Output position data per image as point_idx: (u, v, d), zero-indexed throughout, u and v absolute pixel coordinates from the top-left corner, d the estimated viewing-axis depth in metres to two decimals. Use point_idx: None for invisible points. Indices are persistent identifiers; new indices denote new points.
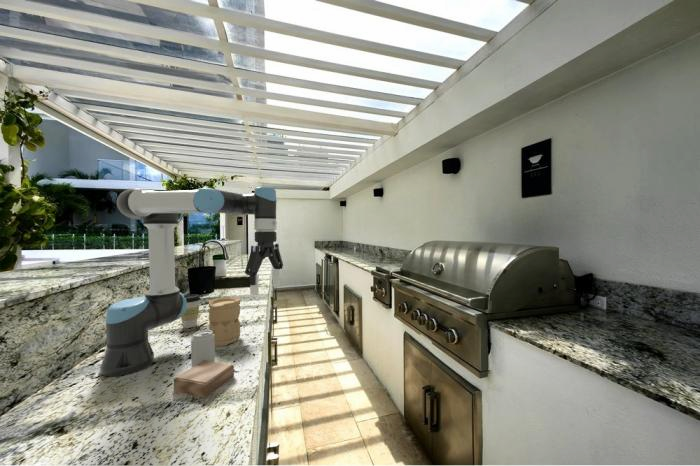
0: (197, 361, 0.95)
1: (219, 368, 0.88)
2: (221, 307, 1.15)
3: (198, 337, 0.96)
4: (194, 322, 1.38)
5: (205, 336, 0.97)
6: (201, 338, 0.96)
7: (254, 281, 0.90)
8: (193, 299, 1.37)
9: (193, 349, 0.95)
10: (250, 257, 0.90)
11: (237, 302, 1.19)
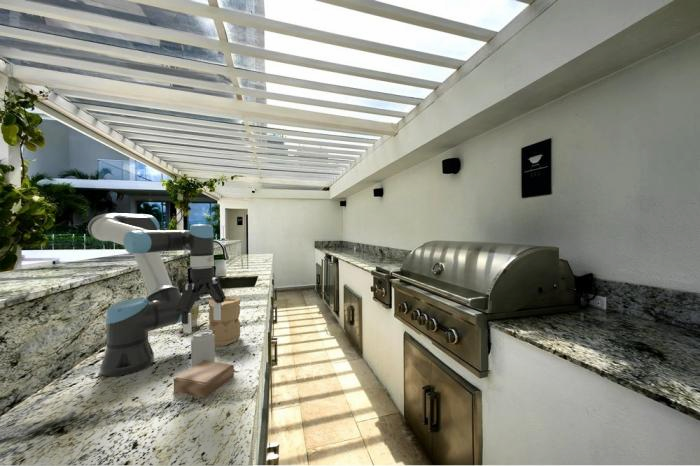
0: (197, 361, 0.95)
1: (219, 368, 0.88)
2: (221, 307, 1.15)
3: (198, 337, 0.96)
4: (194, 322, 1.38)
5: (205, 336, 0.97)
6: (201, 338, 0.96)
7: (186, 320, 0.91)
8: None
9: (193, 349, 0.95)
10: (182, 296, 0.91)
11: (237, 302, 1.19)
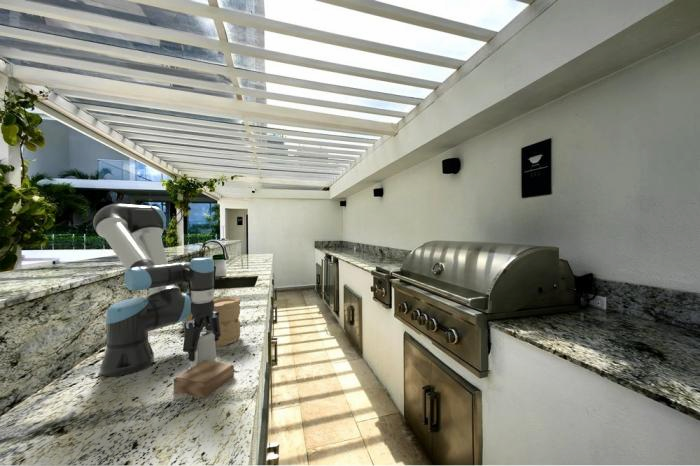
0: None
1: (219, 368, 0.88)
2: (221, 307, 1.15)
3: None
4: None
5: (205, 336, 0.97)
6: (201, 338, 0.96)
7: (193, 357, 0.94)
8: None
9: None
10: (185, 335, 0.92)
11: (237, 302, 1.19)
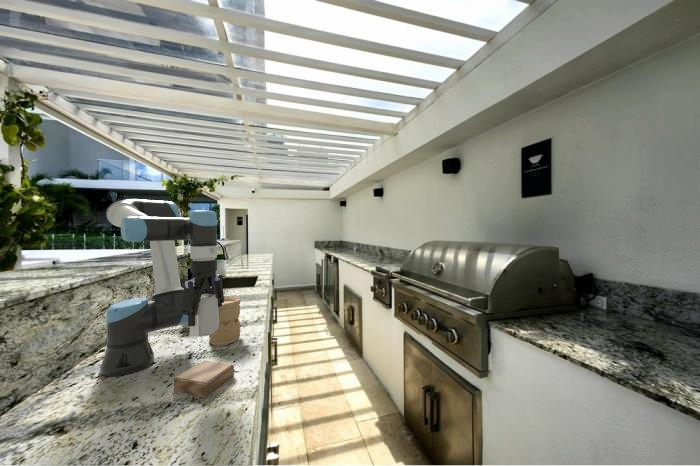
0: None
1: (219, 368, 0.88)
2: (221, 307, 1.15)
3: None
4: None
5: (207, 299, 0.85)
6: (203, 300, 0.84)
7: (193, 322, 0.82)
8: None
9: None
10: (184, 295, 0.80)
11: (237, 302, 1.19)
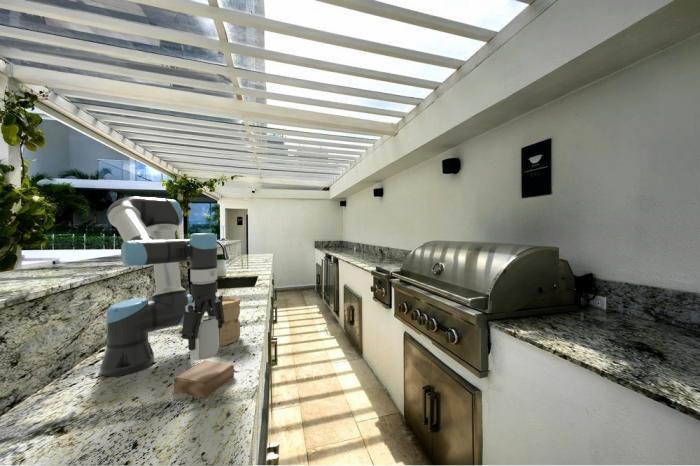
0: (199, 350, 0.83)
1: (219, 368, 0.88)
2: None
3: None
4: None
5: (207, 322, 0.85)
6: (203, 324, 0.84)
7: (193, 345, 0.82)
8: None
9: None
10: (184, 319, 0.80)
11: (237, 302, 1.19)
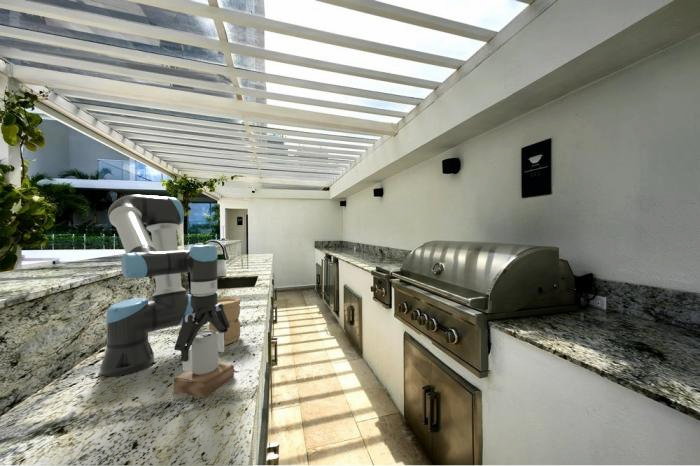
0: (199, 366, 0.83)
1: (219, 368, 0.88)
2: None
3: (199, 338, 0.84)
4: None
5: (207, 337, 0.85)
6: (203, 340, 0.84)
7: (186, 357, 0.79)
8: None
9: (193, 352, 0.84)
10: (181, 329, 0.79)
11: (237, 302, 1.19)
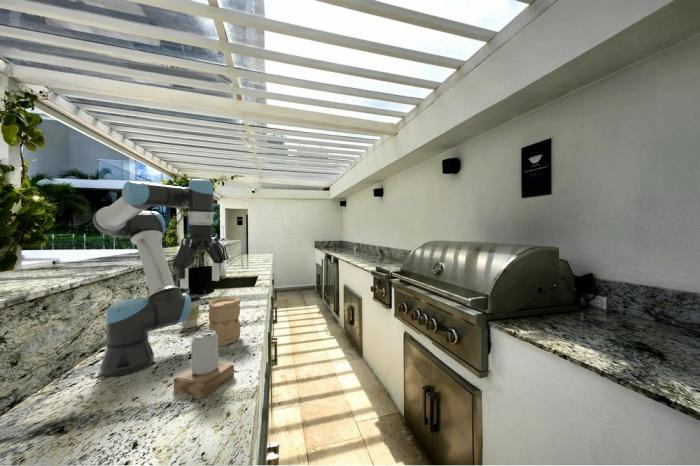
0: (199, 366, 0.83)
1: (219, 368, 0.88)
2: (221, 307, 1.15)
3: (199, 338, 0.84)
4: (194, 322, 1.38)
5: (207, 337, 0.85)
6: (203, 340, 0.84)
7: (183, 275, 0.89)
8: (193, 299, 1.37)
9: (193, 352, 0.84)
10: (179, 250, 0.89)
11: (237, 302, 1.19)
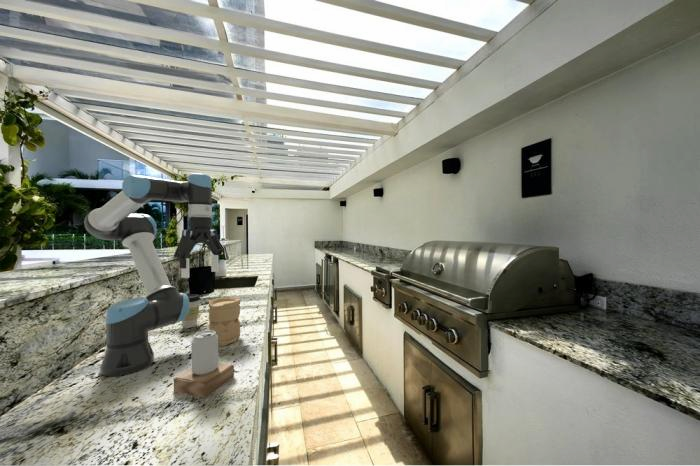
0: (199, 366, 0.83)
1: (219, 368, 0.88)
2: (221, 307, 1.15)
3: (199, 338, 0.84)
4: (194, 322, 1.38)
5: (207, 337, 0.85)
6: (203, 340, 0.84)
7: (184, 264, 0.93)
8: (193, 299, 1.37)
9: (193, 352, 0.84)
10: (180, 241, 0.93)
11: (237, 302, 1.19)
